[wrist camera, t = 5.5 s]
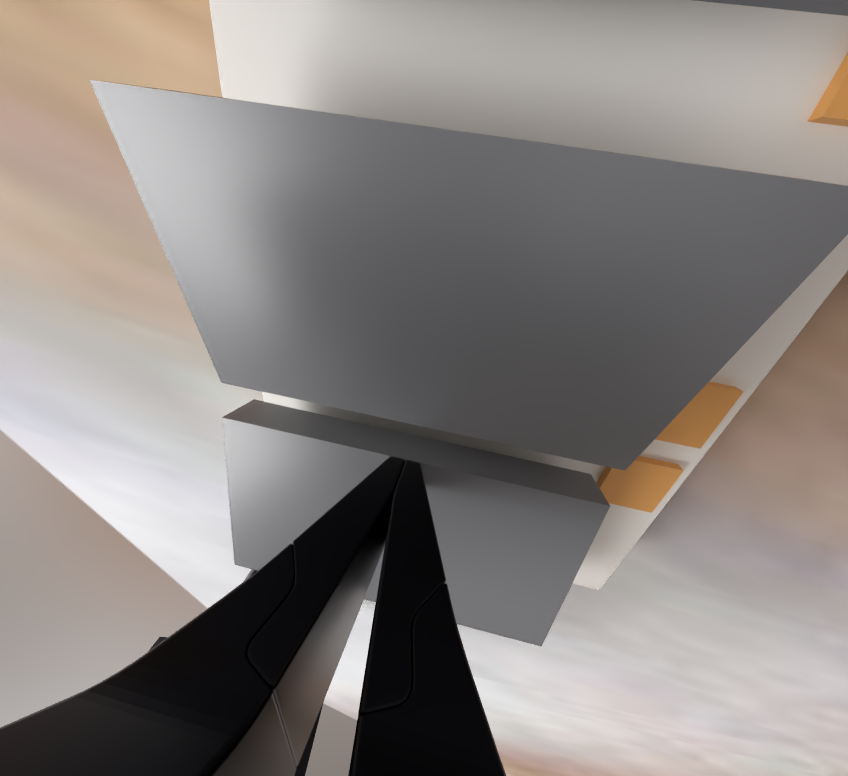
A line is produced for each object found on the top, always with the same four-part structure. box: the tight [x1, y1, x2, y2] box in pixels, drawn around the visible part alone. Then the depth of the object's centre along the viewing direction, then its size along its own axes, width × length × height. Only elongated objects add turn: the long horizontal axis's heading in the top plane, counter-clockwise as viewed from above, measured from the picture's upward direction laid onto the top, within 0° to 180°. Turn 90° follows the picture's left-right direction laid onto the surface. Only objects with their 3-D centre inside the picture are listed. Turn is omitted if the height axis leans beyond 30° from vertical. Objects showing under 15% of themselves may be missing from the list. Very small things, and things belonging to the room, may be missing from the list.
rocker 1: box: [90, 80, 848, 471], centre depth 7 cm, size 6×11×1 cm, turn 82°
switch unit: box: [209, 0, 848, 590], centre depth 9 cm, size 23×15×4 cm, turn 172°
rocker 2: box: [222, 400, 610, 646], centre depth 10 cm, size 6×11×1 cm, turn 82°
